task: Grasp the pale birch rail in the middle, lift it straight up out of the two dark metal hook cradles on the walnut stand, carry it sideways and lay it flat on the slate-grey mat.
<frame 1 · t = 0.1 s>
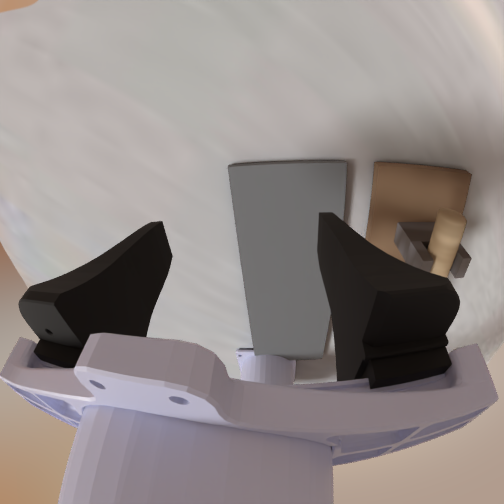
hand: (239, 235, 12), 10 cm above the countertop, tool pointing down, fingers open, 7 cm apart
mat: (290, 288, 27), on the countertop
rail: (410, 308, 23), point 4 cm above the countertop, touching hook stand
hook stand: (398, 282, 26), on the countertop
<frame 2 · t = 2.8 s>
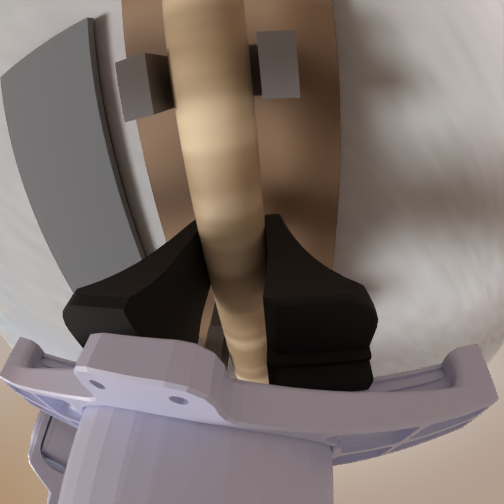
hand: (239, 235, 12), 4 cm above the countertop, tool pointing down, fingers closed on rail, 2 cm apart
mat: (80, 217, 16), on the countertop
rail: (239, 238, 12), point 4 cm above the countertop, touching gripper, hook stand
hook stand: (246, 200, 15), on the countertop
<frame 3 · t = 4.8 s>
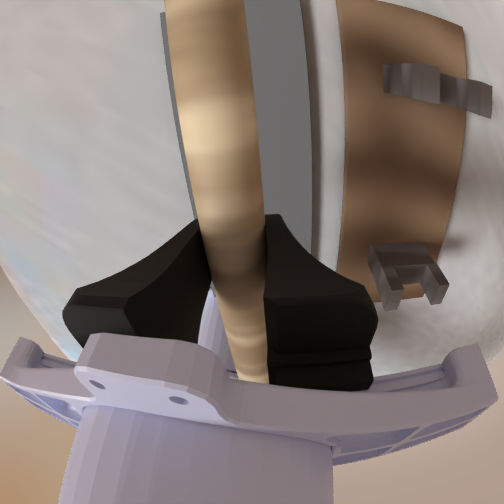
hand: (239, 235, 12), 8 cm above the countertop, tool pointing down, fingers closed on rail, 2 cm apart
mat: (248, 172, 19), on the countertop
rail: (241, 237, 12), point 8 cm above the countertop, touching gripper
hook stand: (404, 171, 18), on the countertop
when the fingers open (2 cm above the countertop, at t = 6.8 s): rail drops 1 cm, resting on mat.
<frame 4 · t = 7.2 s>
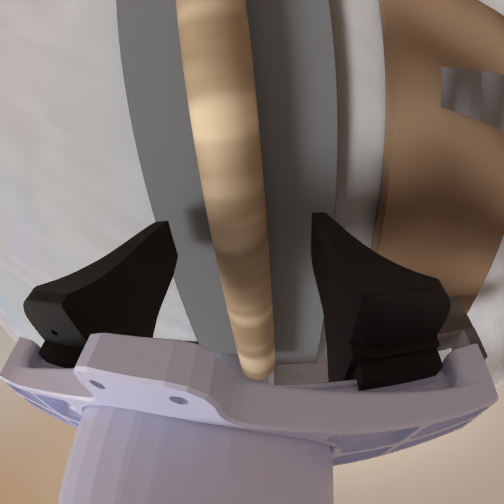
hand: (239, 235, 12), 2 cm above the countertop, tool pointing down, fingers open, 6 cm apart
mat: (243, 216, 14), on the countertop
rail: (244, 221, 13), point 1 cm above the countertop, tilted 5°, touching mat
hook stand: (449, 212, 13), on the countertop
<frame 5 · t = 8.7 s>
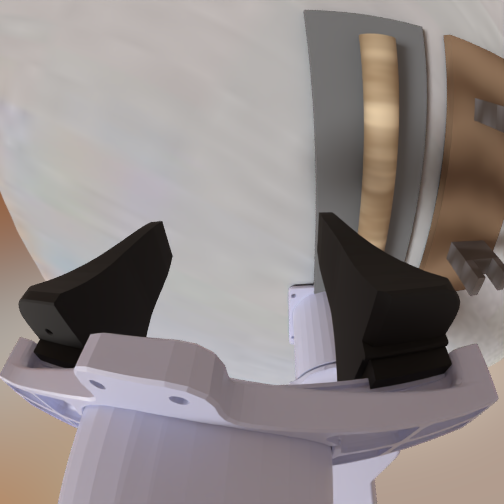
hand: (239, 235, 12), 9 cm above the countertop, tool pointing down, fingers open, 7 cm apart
mat: (370, 176, 19), on the countertop
rail: (374, 179, 19), point 1 cm above the countertop, tilted 5°, touching mat
hook stand: (477, 182, 18), on the countertop
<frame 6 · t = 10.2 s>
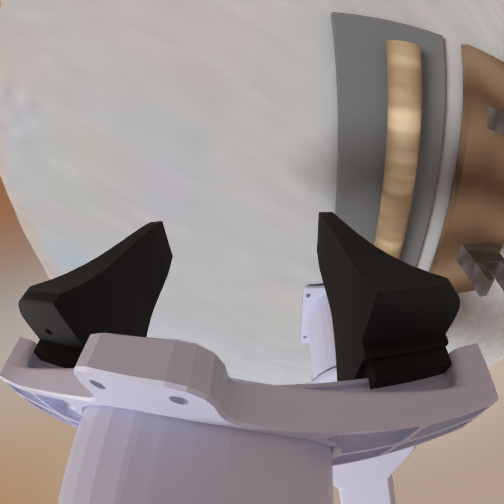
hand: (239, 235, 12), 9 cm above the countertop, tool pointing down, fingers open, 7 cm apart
mat: (389, 179, 19), on the countertop
rail: (393, 182, 19), point 1 cm above the countertop, tilted 5°, touching mat
hook stand: (487, 187, 18), on the countertop
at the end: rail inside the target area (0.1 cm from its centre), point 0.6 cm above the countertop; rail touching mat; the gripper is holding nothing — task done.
